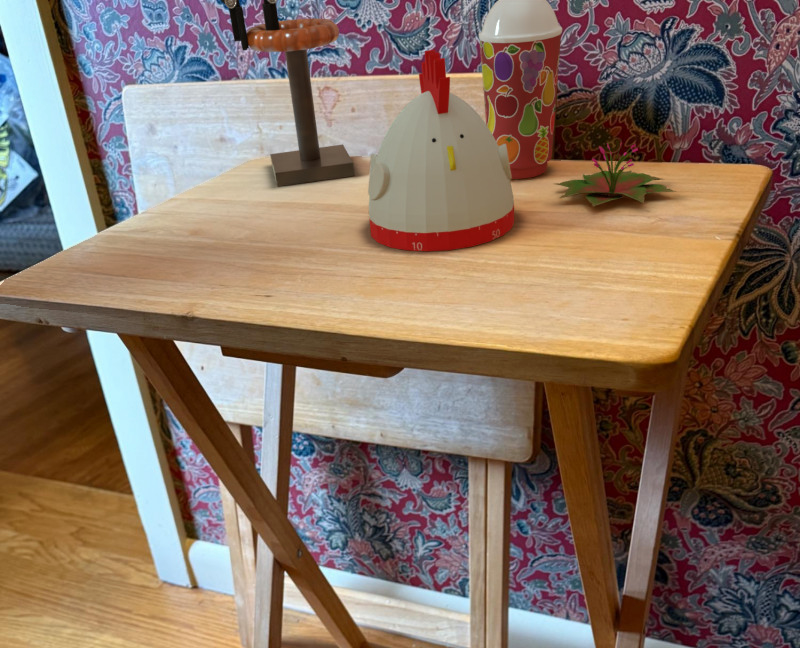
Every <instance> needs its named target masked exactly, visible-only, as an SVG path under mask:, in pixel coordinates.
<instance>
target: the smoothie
mask: <svg viewBox="0 0 800 648" xmlns="http://www.w3.org/2000/svg"><path fill="white" fill-rule="evenodd" d="M552 7H553V6H552V5H551V4H550V3H549V2H548V1H547V0H496V2H495V3H493V5H492V6H491V7H490V9H489V11H488V13H487V15H486V17H485V19H484V22H483V25H482V29H481V30H480V32H479V33H478V34H477V35H478V39H479V50H480V51H479V52H480V63H481V64H480V65H481V75H482V88H483V100H484V101H483V102H484V113H485V124H486V125H487V127H488V128H489V130H490V131H491V133H492V135H493V137H494V138H495V140H496V142H497V144H498V146H501V145H503V144H506V146H507V153H508V159H509V165H510V170H511V176H512V178H511V179H510V180H524V179H531V178H535V177H538V176H540V175H543V174H544V173H546V171H547V169H548V162H550V161H551V160H552V158H553V146H554V132H555V121H556V106H557V93H558V81H559V70H560V69H559V68H560V57H561V56H560V55H561V54H560V53H561V42H562V33H563V27H562V26H561V25H559V21H558V18H557V16H556V13H555V11H554V9H553V8H552Z"/></svg>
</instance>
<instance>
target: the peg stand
mask: <svg viewBox="0 0 800 648" xmlns="http://www.w3.org/2000/svg"><path fill="white" fill-rule="evenodd" d="M284 55H285V56H284V57H285V61H286V68H287V76H288V84H289V89H290V97H291V105H292V109H293V110H292V112H293V118H294V126H295V132H296V139H297V146H298V147H297V148H298V149H297V150H291V151H283V152H277V153H270V154H269V157H270V162H271V169H272V172H273V175H274V180H275V183H276V187H285V186H291V185H299V184H306V183H314V182H321V181H327V180H335V179H341V178H348V177H355V176H356V175H355V165H354V162H353V160H352V158H351V156H350V154H349V152H348V150H347V149H346V148H345V146H344V144H336V145H328V146H320V142H319V134H318V126H317V119H316V118H317V117H316V112H315V104H314V97H313V96H314V95H313V89H312V81H311V80H312V79H311V73H310V65H309V57H308V49H306V50H297V51H288V52H284Z"/></svg>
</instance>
